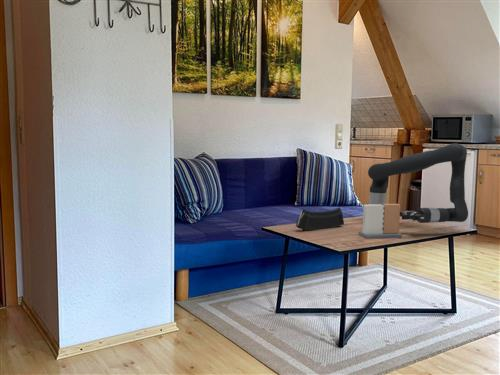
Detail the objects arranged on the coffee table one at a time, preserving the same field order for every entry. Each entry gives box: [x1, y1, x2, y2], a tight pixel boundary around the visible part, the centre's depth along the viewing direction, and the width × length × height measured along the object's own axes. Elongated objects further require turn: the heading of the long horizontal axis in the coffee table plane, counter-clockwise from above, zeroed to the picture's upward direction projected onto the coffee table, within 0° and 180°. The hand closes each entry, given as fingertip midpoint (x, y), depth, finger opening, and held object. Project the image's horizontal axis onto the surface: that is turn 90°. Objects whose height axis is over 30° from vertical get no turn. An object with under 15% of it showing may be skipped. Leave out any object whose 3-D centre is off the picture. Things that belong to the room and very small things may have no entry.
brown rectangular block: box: [383, 203, 401, 234], centre depth 247 cm, size 3×8×14 cm, turn 101°
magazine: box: [295, 207, 345, 232], centre depth 262 cm, size 17×3×30 cm
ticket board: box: [357, 204, 402, 240], centre depth 247 cm, size 10×18×16 cm, turn 101°
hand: (397, 215), depth 248 cm, fingers open, 8 cm apart
